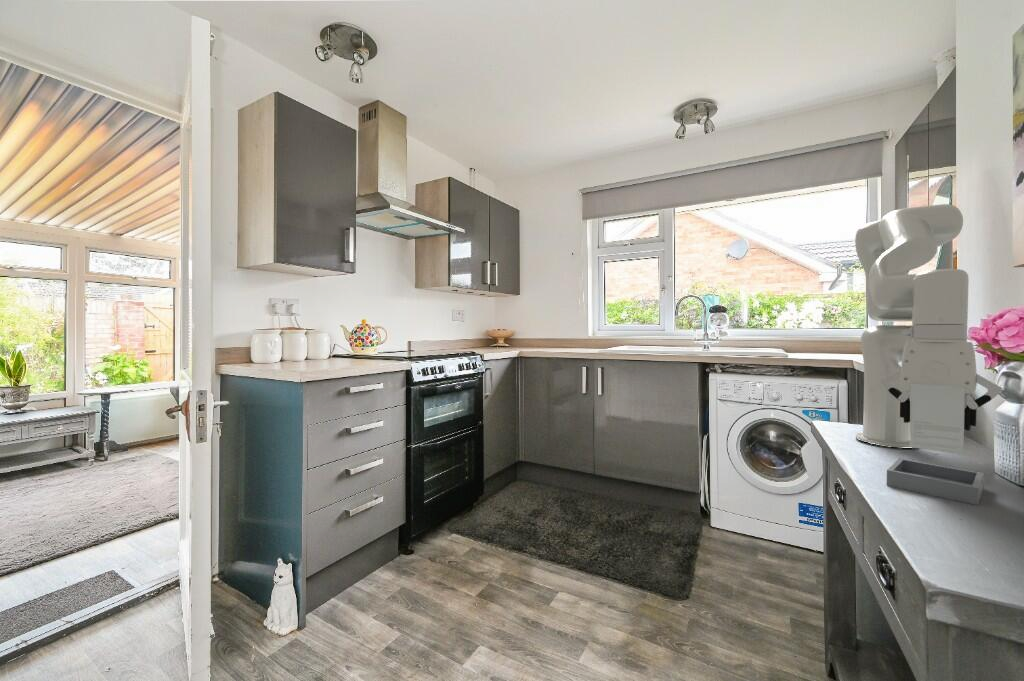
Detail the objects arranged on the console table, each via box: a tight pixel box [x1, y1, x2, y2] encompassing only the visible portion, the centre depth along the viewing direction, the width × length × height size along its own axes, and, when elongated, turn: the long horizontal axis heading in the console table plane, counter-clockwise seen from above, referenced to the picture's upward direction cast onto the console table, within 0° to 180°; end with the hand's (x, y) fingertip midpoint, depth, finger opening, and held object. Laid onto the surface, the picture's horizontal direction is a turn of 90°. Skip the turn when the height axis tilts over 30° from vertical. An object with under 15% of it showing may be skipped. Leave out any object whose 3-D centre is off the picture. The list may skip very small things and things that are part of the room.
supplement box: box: [910, 383, 966, 455], centre depth 82 cm, size 7×7×13 cm
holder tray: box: [886, 457, 984, 506], centre depth 82 cm, size 12×12×3 cm
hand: (936, 424), depth 82 cm, fingers closed on supplement box, 7 cm apart
